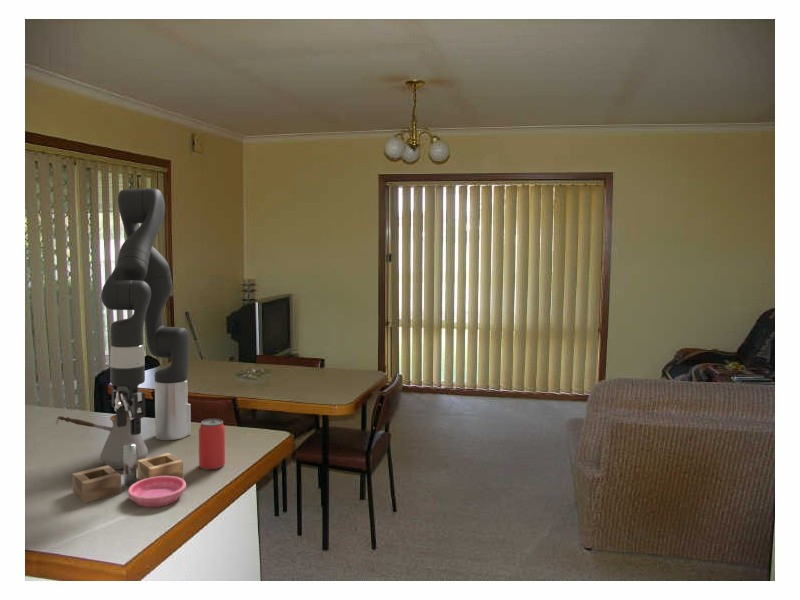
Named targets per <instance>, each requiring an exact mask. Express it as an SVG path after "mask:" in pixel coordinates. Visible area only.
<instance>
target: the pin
mask: <svg viewBox="0 0 800 600" xmlns="http://www.w3.org/2000/svg"><path fill="white" fill-rule="evenodd" d="M123 456H124V469H123V487H126V488H130V486H131V485H133V484H134V483H136V482H138V471H137V465H136V443H127V444H124V445H123Z"/></svg>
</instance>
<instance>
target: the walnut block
mask: <svg viewBox="0 0 800 600" xmlns="http://www.w3.org/2000/svg"><path fill="white" fill-rule="evenodd" d="M71 474H72V475H71V478H72V479H71V480H72V493H73V494H74V495H75V496H77V498H78V499H80V500H81V501H82V503H84V504H87V503H90V502H94V501H98V500H101V498H102V499H105V498H110V497H113V496H117V495H119V494H122V474H120V472H118V471H116V469H114V468H111V467H110V466H108V465H103V466H99V467H94V468H91V469H86V470H82V471H78V472H77V471H76V472H74V473H71ZM112 495H113V496H112Z"/></svg>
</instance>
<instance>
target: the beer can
mask: <svg viewBox="0 0 800 600" xmlns="http://www.w3.org/2000/svg"><path fill="white" fill-rule="evenodd" d="M225 464H226V429H225V425H224V421H223V420H222V419H220V418H208V419H204V420H202V421H201V422H200V426H199V428H198V465H199V467H200V468H201V469H203V470H209V471H210V470H217V469H220V468H222V467H224V465H225Z"/></svg>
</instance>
